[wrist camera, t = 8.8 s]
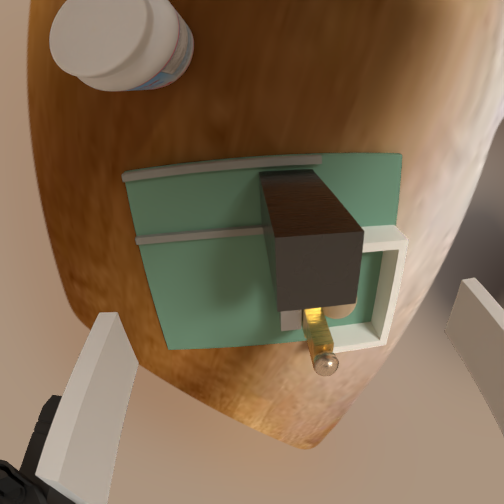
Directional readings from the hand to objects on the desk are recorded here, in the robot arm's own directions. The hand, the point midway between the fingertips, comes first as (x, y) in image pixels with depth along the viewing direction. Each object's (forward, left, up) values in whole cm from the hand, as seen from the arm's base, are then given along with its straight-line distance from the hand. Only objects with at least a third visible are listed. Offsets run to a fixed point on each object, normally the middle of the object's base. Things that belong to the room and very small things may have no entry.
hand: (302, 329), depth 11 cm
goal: (+9, +7, -16) cm, 20 cm away
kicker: (+5, +2, -15) cm, 16 cm away
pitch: (+6, 0, -16) cm, 17 cm away
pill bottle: (-12, -7, -16) cm, 21 cm away
